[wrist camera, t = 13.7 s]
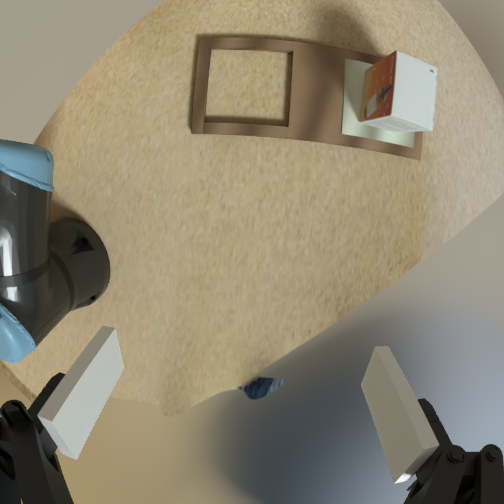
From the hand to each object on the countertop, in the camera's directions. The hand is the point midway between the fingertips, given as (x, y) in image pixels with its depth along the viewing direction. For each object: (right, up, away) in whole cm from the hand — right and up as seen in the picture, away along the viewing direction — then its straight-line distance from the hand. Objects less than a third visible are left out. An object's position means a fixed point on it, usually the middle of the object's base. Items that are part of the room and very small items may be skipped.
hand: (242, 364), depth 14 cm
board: (+9, +27, +21) cm, 35 cm away
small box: (+18, +26, +20) cm, 37 cm away
